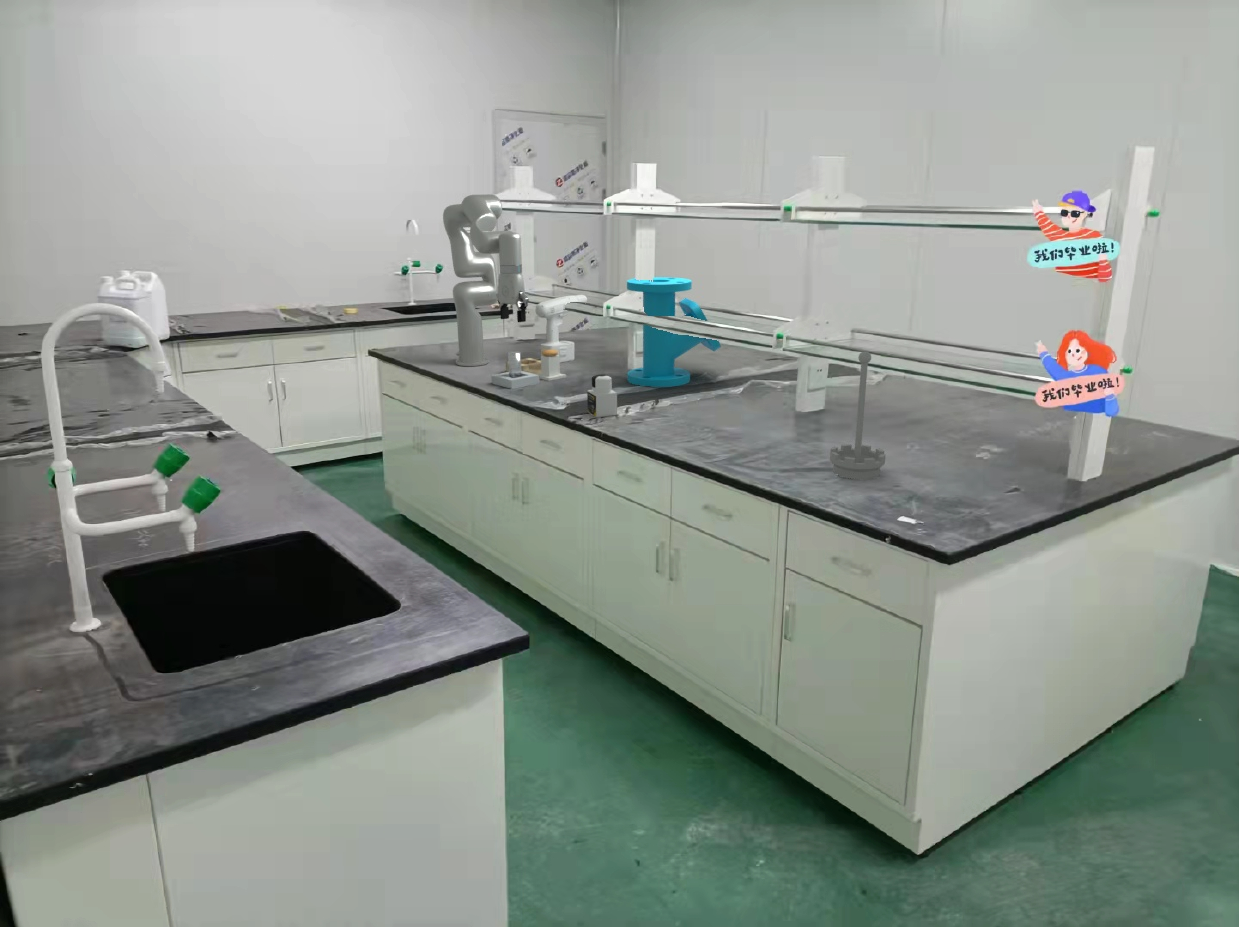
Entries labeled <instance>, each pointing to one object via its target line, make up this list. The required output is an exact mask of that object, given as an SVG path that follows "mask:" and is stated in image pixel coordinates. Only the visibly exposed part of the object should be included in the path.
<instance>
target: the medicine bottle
mask: <svg viewBox="0 0 1239 927" xmlns="http://www.w3.org/2000/svg"><path fill="white" fill-rule="evenodd" d="M612 380H613V378H612V376H611V375H609V374H596V375H593V376H592V378H591V389H588V390H586V392H587V394H586V395H587V396H586V397H587V398H586V399H587V400H586V401H587V404H586V405H587V413H589V414H590V415H591V414H592V415H591V416H594V417H595V418H603V417H613V416H618V392H616V391H615V390H613V386H612V385H613V381H612Z"/></svg>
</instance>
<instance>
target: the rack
mask: <svg viewBox="0 0 1239 927" xmlns="http://www.w3.org/2000/svg"><path fill="white" fill-rule="evenodd" d="M521 371H524V372H528V373H532V374H536V375H537V374H541V359H535V358H531V357H527V358H521ZM506 372H509V364H508V361H505V373H506Z"/></svg>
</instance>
